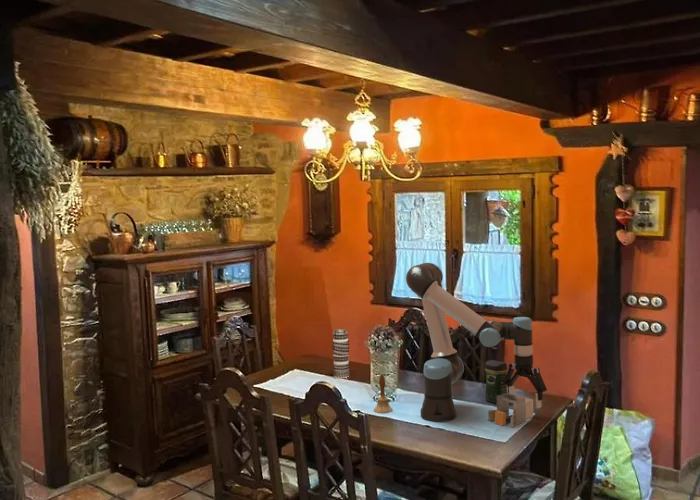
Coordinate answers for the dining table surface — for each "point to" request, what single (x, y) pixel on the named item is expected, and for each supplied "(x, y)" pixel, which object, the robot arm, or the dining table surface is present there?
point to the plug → (502, 419)
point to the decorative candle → (340, 354)
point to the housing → (503, 406)
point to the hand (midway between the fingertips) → (525, 404)
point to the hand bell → (382, 399)
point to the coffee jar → (495, 380)
